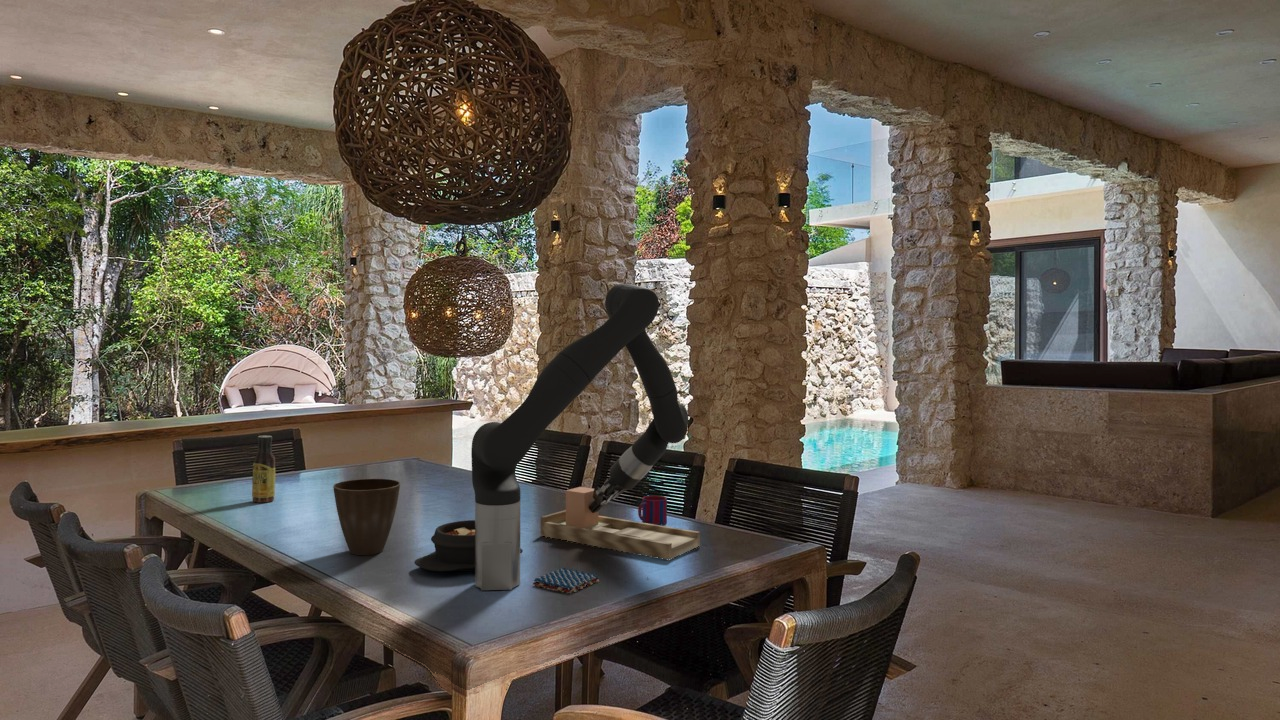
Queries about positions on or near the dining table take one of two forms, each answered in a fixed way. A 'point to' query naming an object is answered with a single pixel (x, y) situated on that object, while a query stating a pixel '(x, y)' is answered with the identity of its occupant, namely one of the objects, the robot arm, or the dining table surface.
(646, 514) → the mug
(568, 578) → the woven mat
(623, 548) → the tray
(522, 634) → the dining table surface
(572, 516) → the terracotta block
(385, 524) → the plant pot
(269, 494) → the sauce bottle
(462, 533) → the casserole
